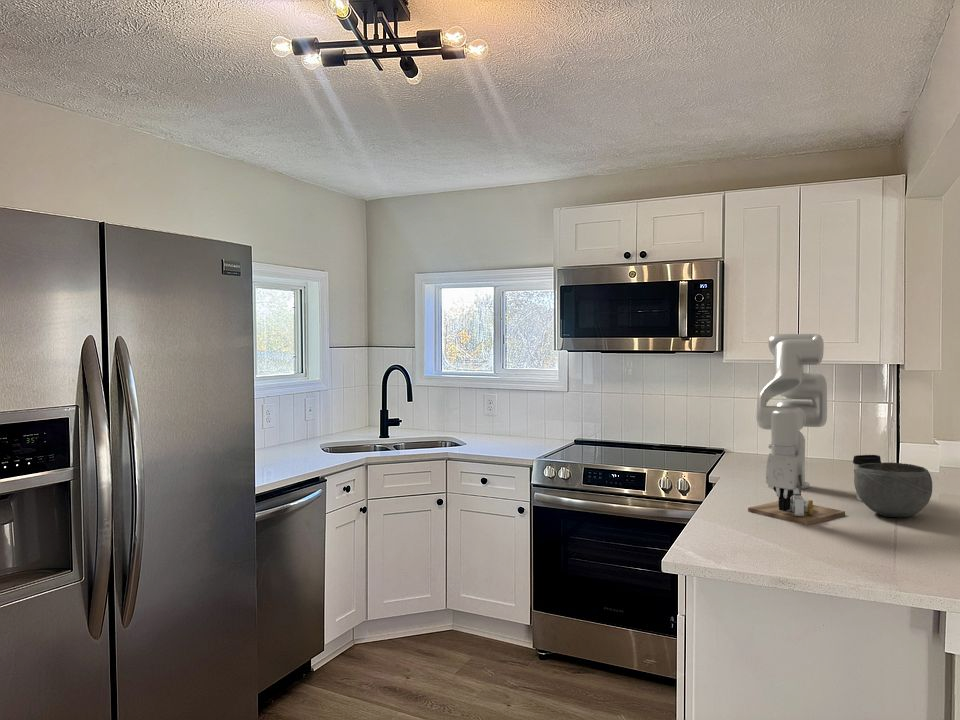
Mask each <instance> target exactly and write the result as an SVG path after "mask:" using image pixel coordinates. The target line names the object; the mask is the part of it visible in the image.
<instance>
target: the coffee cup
mask: <svg viewBox="0 0 960 720" xmlns="http://www.w3.org/2000/svg"><path fill="white" fill-rule="evenodd" d="M881 459H882V458H881V456H880V455H877V454H861V455H860V454H858V455H853V459H852V464H854V466H853V467H854V469H853V474H854V475H855V471H856V469H857V467H858V466H859V465H861V464H866V463H882V461H881ZM854 475H853V476H854ZM855 494H856V500H858V501H859V502H863V501H862V500H861V499H860V497H859V496H858V494H857V492H856V491H855Z"/></svg>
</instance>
